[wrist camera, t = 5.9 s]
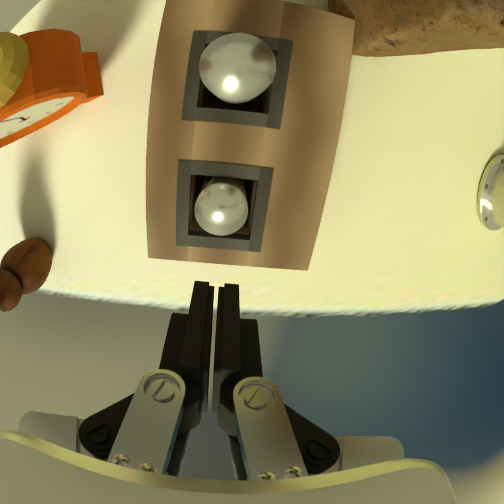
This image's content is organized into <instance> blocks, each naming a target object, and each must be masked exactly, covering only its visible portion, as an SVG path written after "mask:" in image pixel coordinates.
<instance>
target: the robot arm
mask: <svg viewBox="0 0 504 504" xmlns="http://www.w3.org/2000/svg"><path fill="white" fill-rule="evenodd" d="M477 208H478V215H479V219H480V221H481V223H482V224H483V225H484V226H485V227H486V228H488V229H489V230H497V229H500V228H501V227H502V228H504V154H499V155H497V156H495V157H494V158H493V159H492V160H491V161H490V162H489V164H488V165H487V167H486V169H485V171H484V173H483V176H482V178H481V182H480V185H479V190H478V198H477ZM213 301H214V286H209V282H202V281H195V283H194V288H193V293H192V298H191V303H190V308H189V314H181V313H173V314H172V315H171V319H170V323H169V327H168V331H167V335H166V340H165V344H164V348H163V353H162V358H161V362H160V367H159V370H153V371H151V372H148V373H147V374H146V375H144V376H143V377H142V379H141V380H140V382H139V385H138V387H137V389H136V391H135V393H133V394H132V395H130V396H128V397H127V398H124V399H122V400H121V401H119V402H117V403H115V404H113V405H111V406H109V407H107V408H105V409H103V410H101V411H100V412H98V413H96V414H94V415H92V416H90V417H88V418H87V419H78V417H74V416H64V415H56V414H48V413H42V412H35V411H30V412H27V413H25V414H24V415H23V416H22V418H21V420H20V423H19V431H12V430H0V504H457V501H456V498H455V495H454V492H453V489H452V486H451V484H450V482H449V480H448V478H447V476H446V474H445V472H444V471H443V470H442V468H441V467H439V466H438V465H437V464H435V463H434V462H431V461H427V460H423V459H404V451H403V447H402V444H401V443H400V442H399V440H397V439H395V438H393V437H355V436H342V438H335V437H332V435H330V434H329V433H327V432H325V431H324V430H322V429H321V428H319V427H318V426H316V425H315V424H313V423H312V422H310V421H308V420H307V419H305V418H304V417H303V416H301V415H299V414H298V413H297V412H295V411H294V410H292V409H291V408H290V407H288V406H287V405H285V404H284V402H283V399H282V396H281V393H280V391H279V389H278V387H277V386H276V385H275V384H274V383H273V382H271V381H270V380H268V379H266V378H263V375H262V365H261V355H260V344H259V334H258V324H257V320H256V319H240V309H239V285H238V284H226V283H225V285H224V287H219V292H218V306H217V320H216V336H215V353H214V372H213V373H214V374H213V396H212V397H213V398H212V413H218V426H220V427H221V428H222V429H223V430H224V431H225V432H226V433H227V438H228V443H229V448H230V453H231V458H232V463H233V468H234V472H235V476H236V481H230V480H208V479H195V478H184V477H179V475H180V472H181V468H182V464H183V459H184V455H185V452H186V448H187V444H188V440H189V436H190V431H191V429H193V428H194V427H196V426H197V425H199V424H200V419H201V412H207V404H208V386H209V385H208V384H209V369H210V353H211V338H212V318H213Z"/></svg>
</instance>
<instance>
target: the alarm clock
mask: <svg viewBox="0 0 504 504" xmlns="http://www.w3.org/2000/svg"><path fill="white" fill-rule="evenodd" d="M102 95H104V94H103V88H102V83H101V77H100V72H99V66H98V59H97V52H86V53H81V45H80V38H79V36H77V35H76V34H74V33H73V32H71V31H67V30H59V29H48V30H40V31H34V32H29V33H26V34H23V35H20V36H18V35H16V34H13V33H10V32H0V148H1V147H3V146H5V145H8V144H10V143H12V142H14V141H16V140H18V139H20V138H22V137H24V136H26V135H28V134H30V133H32V132H34V131H36V130H38V129H40V128H42V127H44V126H46V125H48V124H50V123H51V122H53V121H55V120H57V119H59V118H61V117H62V116H64V115H66V114H67V113H69V112H70V111H72V110H73V109H74V108H76V107H77V106H79V105H80V104H82V103H86V102H89V101H91V100H93V99H95V98H98V97H100V96H102Z"/></svg>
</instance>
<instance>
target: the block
mask: <svg viewBox="0 0 504 504" xmlns="http://www.w3.org/2000/svg"><path fill="white" fill-rule="evenodd" d="M328 5H329V11H330V12H331V13H334V14H337V15H341V16H344V17H347V18H350V19H353V20H355V28H354V38H353V47H352V55H359V56H372V57H385V56H402V55H416V54H428V53H435V52H443V51H454V50H467V49H491V48H504V0H328Z"/></svg>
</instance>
